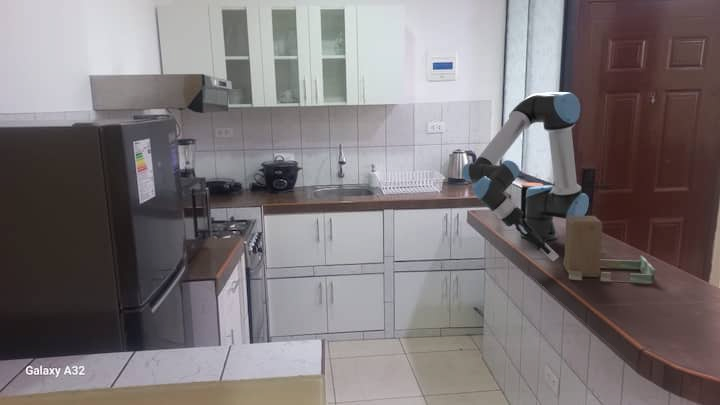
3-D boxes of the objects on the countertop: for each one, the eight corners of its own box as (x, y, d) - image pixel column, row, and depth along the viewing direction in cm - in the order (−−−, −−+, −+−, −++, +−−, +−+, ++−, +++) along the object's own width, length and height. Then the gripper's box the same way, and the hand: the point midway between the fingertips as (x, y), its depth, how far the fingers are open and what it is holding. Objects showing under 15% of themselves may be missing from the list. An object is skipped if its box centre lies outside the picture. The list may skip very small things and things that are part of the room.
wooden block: (600, 278, 167) (603, 222, 163) (569, 277, 170) (571, 221, 166) (592, 268, 177) (595, 215, 173) (563, 267, 179) (565, 215, 175)
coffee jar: (545, 220, 248) (546, 185, 245) (524, 221, 249) (525, 186, 245) (538, 215, 259) (539, 182, 255) (517, 216, 259) (518, 183, 255)
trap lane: (563, 265, 182) (564, 252, 181) (641, 268, 175) (642, 255, 174) (568, 279, 168) (569, 265, 167) (653, 283, 160) (654, 269, 160)
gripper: (500, 215, 183) (545, 259, 182) (500, 223, 171) (549, 271, 170) (515, 201, 181) (561, 246, 179) (516, 209, 168) (566, 257, 167)
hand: (555, 258), depth 175 cm, fingers closed
